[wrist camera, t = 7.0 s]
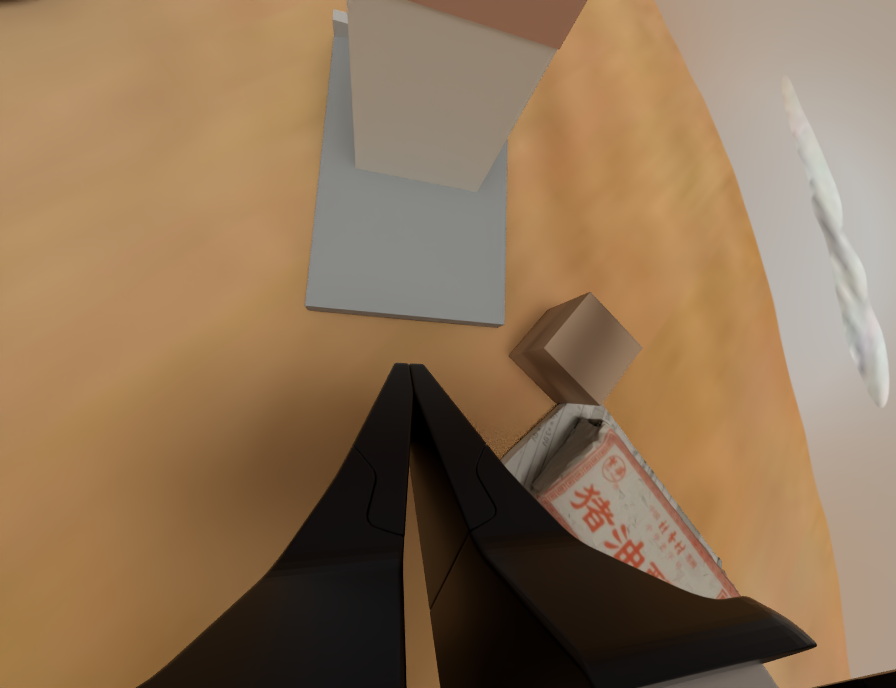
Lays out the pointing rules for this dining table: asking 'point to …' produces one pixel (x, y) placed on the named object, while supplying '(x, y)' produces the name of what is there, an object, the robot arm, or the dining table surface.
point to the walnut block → (577, 352)
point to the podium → (401, 230)
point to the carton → (446, 81)
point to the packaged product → (613, 498)
